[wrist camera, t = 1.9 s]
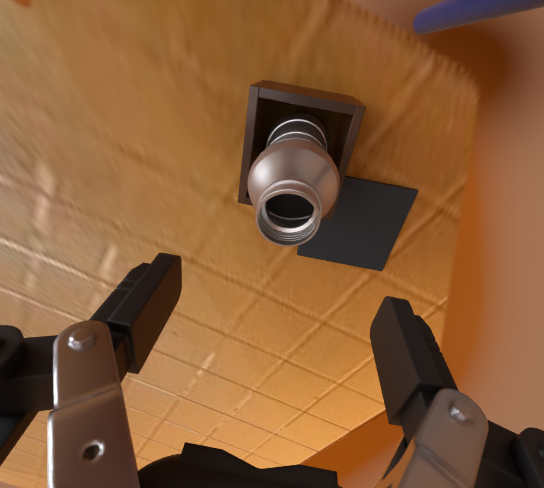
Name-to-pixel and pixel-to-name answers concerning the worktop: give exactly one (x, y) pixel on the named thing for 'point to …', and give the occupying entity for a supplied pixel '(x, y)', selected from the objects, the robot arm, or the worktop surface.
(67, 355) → the robot arm
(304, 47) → the worktop surface
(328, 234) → the mat
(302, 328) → the worktop surface
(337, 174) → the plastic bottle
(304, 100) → the holder
